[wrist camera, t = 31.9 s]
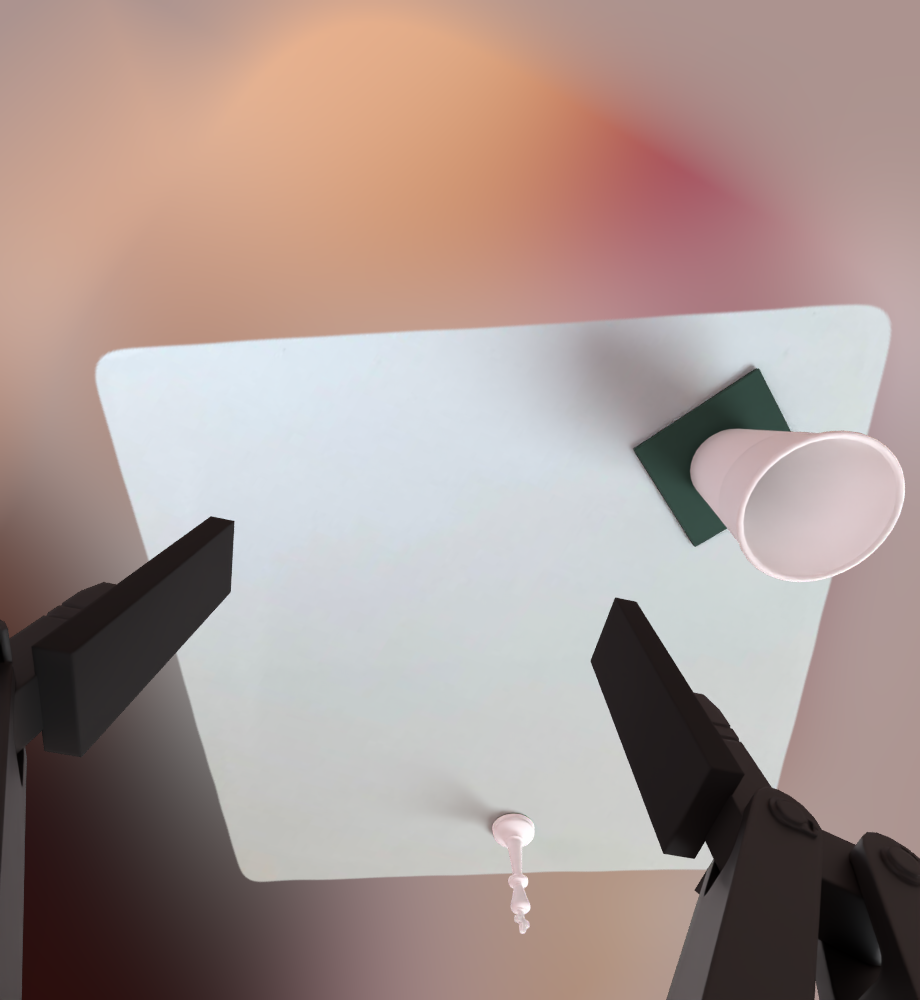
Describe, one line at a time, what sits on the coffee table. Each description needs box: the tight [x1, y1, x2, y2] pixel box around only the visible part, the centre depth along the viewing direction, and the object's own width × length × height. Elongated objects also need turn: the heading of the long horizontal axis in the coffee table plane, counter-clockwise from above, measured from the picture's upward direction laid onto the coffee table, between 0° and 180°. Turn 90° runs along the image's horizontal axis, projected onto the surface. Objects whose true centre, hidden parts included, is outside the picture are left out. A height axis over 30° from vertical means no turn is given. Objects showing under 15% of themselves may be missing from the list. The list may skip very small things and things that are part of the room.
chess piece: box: [492, 814, 534, 934], centre depth 49 cm, size 5×5×10 cm
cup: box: [690, 429, 905, 582], centre depth 33 cm, size 10×10×11 cm
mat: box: [633, 368, 791, 547], centre depth 39 cm, size 11×11×1 cm
